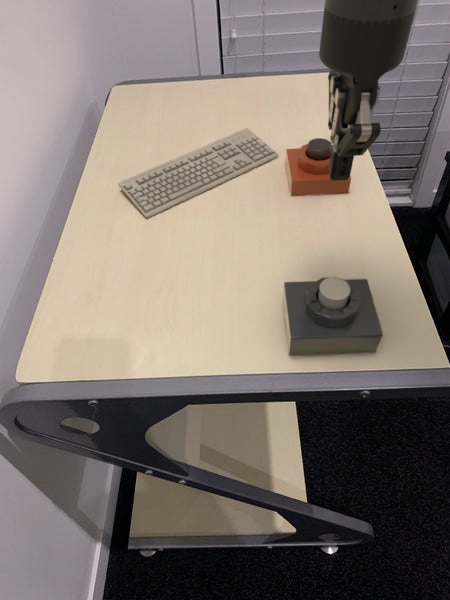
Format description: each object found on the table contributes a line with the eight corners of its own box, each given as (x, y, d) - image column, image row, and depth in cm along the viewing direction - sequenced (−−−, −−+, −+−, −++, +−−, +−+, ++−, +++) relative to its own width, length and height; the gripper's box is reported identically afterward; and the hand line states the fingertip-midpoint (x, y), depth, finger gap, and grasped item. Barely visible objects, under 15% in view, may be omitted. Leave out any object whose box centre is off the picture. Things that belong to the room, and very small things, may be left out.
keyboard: (146, 219, 73) (144, 210, 72) (119, 190, 79) (117, 181, 77) (278, 157, 83) (279, 147, 81) (246, 135, 88) (246, 126, 87)
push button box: (361, 297, 60) (370, 268, 55) (376, 352, 54) (387, 324, 50) (282, 300, 60) (284, 271, 56) (288, 355, 55) (291, 328, 50)
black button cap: (328, 148, 76) (329, 137, 74) (331, 161, 73) (333, 150, 71) (305, 149, 76) (306, 138, 74) (308, 162, 73) (309, 151, 72)
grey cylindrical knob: (344, 287, 54) (347, 276, 52) (350, 310, 52) (353, 299, 50) (315, 288, 54) (317, 277, 53) (320, 311, 52) (322, 300, 50)
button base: (338, 160, 81) (342, 135, 77) (348, 193, 75) (353, 168, 71) (285, 163, 81) (286, 138, 77) (290, 195, 75) (292, 171, 71)
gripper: (442, 27, 32) (385, 211, 45) (394, -26, 40) (358, 143, 53) (341, 33, 32) (314, 215, 45) (313, -21, 40) (298, 146, 54)
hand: (338, 176), depth 49 cm, fingers closed
